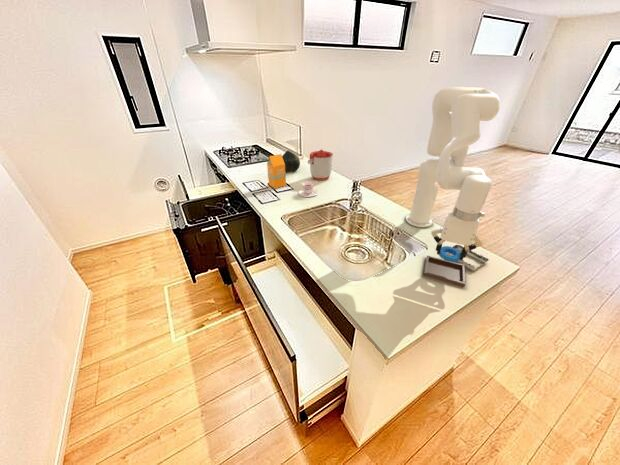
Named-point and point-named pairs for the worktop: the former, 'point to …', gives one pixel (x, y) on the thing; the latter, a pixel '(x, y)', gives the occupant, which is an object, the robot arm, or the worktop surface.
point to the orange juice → (276, 171)
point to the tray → (445, 271)
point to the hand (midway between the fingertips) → (449, 254)
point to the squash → (291, 161)
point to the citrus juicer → (320, 164)
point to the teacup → (307, 190)
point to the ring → (448, 257)
